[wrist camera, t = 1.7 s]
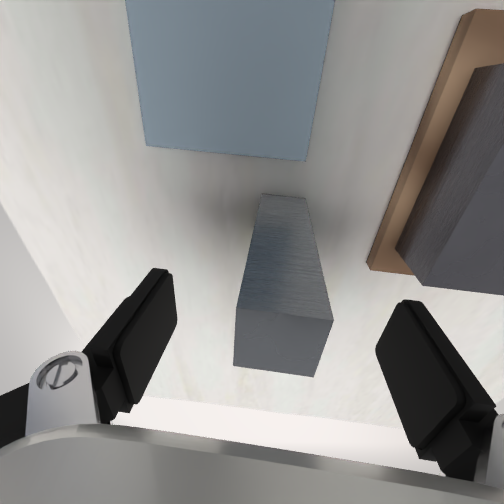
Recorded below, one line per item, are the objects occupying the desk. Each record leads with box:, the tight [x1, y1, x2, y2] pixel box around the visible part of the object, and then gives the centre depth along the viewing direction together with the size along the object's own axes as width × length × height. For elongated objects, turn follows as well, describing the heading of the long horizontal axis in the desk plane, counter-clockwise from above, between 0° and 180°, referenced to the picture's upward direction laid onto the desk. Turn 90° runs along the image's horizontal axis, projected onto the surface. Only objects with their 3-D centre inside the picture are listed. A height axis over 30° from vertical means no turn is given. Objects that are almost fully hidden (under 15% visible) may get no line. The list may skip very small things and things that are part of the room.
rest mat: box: [125, 0, 335, 162], centre depth 13 cm, size 10×10×1 cm
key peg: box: [233, 194, 334, 377], centre depth 13 cm, size 3×3×11 cm
